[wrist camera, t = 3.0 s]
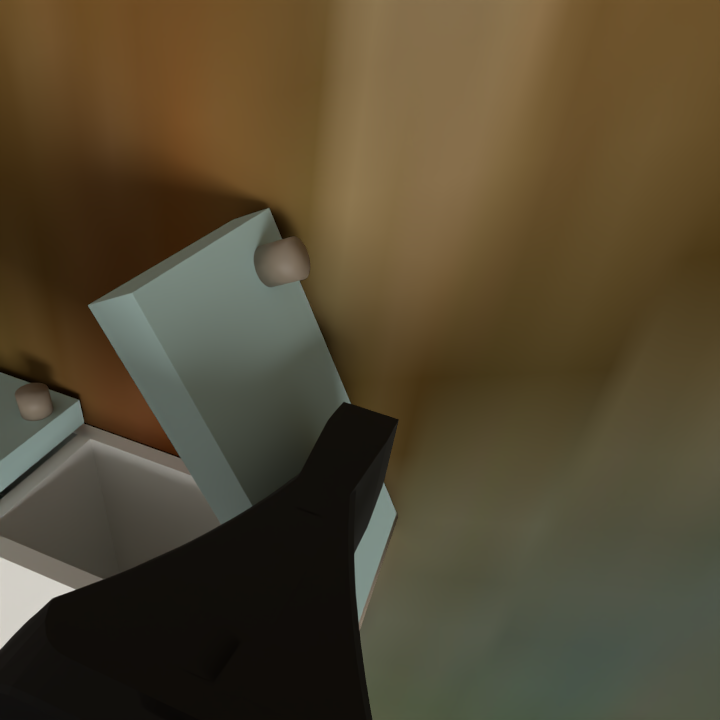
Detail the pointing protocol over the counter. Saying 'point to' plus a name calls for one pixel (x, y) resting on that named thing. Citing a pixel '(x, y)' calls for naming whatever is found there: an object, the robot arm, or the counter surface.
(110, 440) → the cabinet
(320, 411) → the door
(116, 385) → the counter surface
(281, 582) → the robot arm
